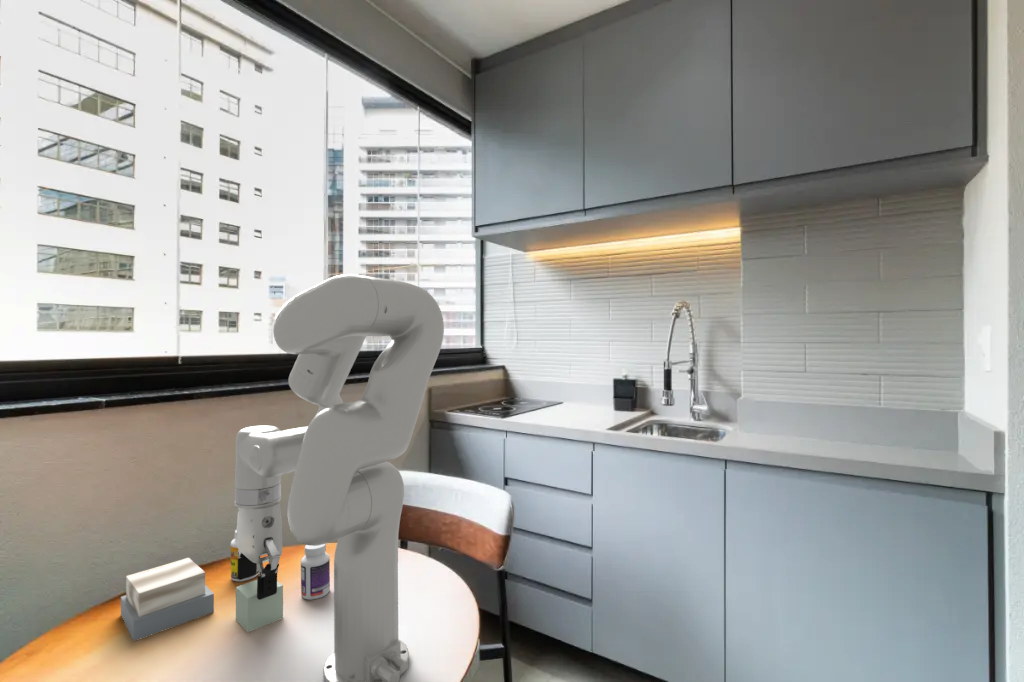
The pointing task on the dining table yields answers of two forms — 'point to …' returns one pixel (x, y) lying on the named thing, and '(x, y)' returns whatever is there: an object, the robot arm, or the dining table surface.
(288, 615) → the dining table surface
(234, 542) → the supplement bottle
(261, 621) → the sage block
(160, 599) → the top block
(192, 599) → the base block
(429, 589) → the dining table surface
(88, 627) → the dining table surface
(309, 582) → the pill bottle
